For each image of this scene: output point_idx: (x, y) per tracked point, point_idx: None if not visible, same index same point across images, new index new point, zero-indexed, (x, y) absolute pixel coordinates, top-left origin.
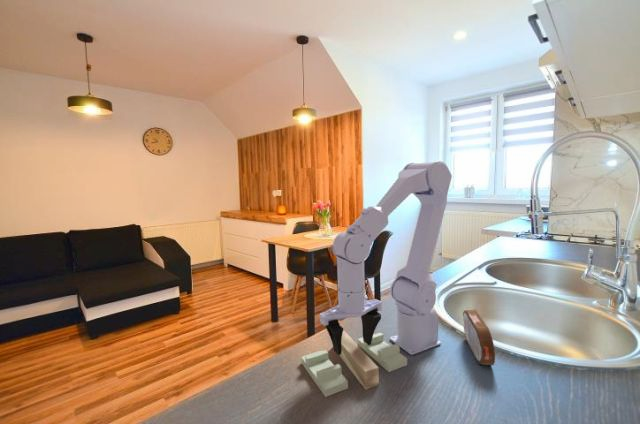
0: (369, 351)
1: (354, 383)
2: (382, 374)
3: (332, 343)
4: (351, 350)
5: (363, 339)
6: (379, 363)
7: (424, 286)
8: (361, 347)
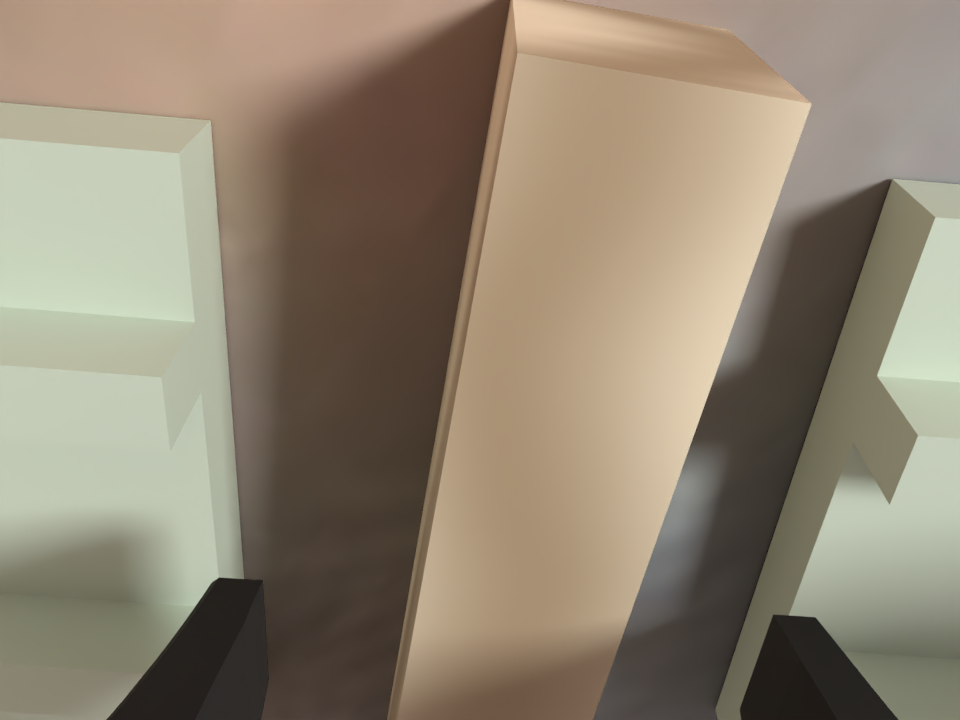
0: (816, 482)
1: (339, 662)
2: (644, 699)
3: (161, 657)
4: (466, 652)
5: (779, 635)
6: (751, 607)
7: None
8: (860, 282)
